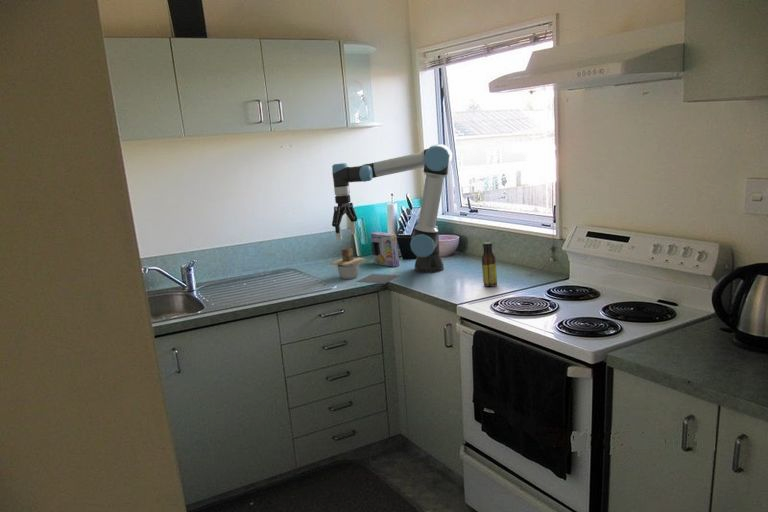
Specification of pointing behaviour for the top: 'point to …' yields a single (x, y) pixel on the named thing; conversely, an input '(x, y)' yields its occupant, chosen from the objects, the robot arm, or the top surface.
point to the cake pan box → (385, 248)
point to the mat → (378, 278)
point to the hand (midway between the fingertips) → (346, 236)
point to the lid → (347, 258)
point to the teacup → (348, 271)
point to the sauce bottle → (489, 265)
